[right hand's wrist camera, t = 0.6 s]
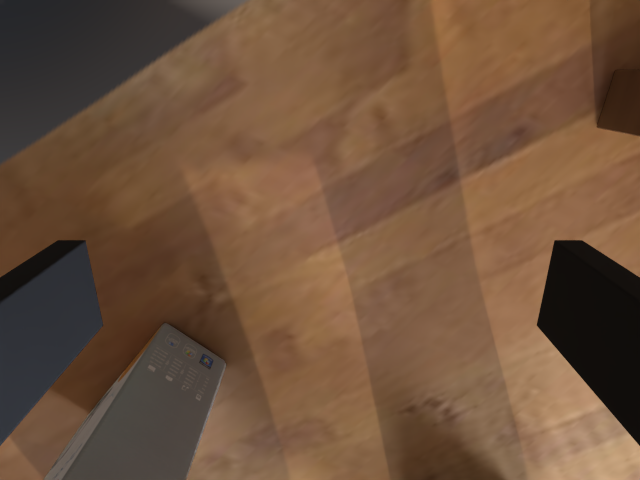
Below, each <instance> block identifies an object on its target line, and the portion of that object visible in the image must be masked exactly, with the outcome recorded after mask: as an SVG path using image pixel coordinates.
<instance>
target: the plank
mask: <svg viewBox="0 0 640 480" xmlns="http://www.w3.org/2000/svg"><path fill="white" fill-rule="evenodd" d="M597 128H600V129H605V130H610V131H615V132H620V133H625V134H630V135H635V136H640V70H615V73H614V76H613V79H612V82H611V85H610V88H609V91H608V94H607V97H606V100H605V103H604V106H603V109H602V112H601V115H600V119H599V122H598V125H597Z"/></svg>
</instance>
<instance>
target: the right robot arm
mask: <svg viewBox="0 0 640 480" xmlns="http://www.w3.org/2000/svg"><path fill="white" fill-rule="evenodd" d="M102 326H103V322H102V317H101V313H100V308H99V303H98V298H97V294H96V289H95V284H94V279H93V274H92V270H91V265H90V260H89V255H88V251H87V246H86V241H85V240H58V241H56V242H55V243H53V244H52V245H50V246H49V247H47V248H45V249H44V250H42V251H41V252H39V253H38V254H36V255H35V256H33V257H31V258H30V259H28V260H27V261H25V262H24V263H22V264H21V265H19V266H17V267H16V268H14V269H13V270H11V271H10V272H8V273H7V274H5V275H4V276H2V277H0V445H1V444H2V443H3V442H4V441H5V440H6V438H7V437H8V436H9V435H10V434H11V433H12V431H13V430H14V429H15V428H16V427H17V426H18V424H19V423H20V422H21V421H22V420H23V419H24V417H25V416H26V415H27V414H28V413H29V411H30V410H31V409H32V408H33V407H34V406H35V404H36V403H37V402H38V401H39V400H40V399H41V397H42V396H43V395H44V394H45V393H46V392H47V390H48V389H49V388H50V387H51V386H52V385H53V383H54V382H55V381H56V380H57V379H58V378H59V376H60V375H61V374H62V373H63V372H64V371H65V369H66V368H67V367H68V366H69V365H70V364H71V362H72V361H73V360H74V359H75V358H76V357H77V355H78V354H79V353H80V352H81V351H82V349H83V348H84V347H85V346H86V345H87V344H88V342H89V341H90V340H91V339H92V338H93V337H94V335H95V334H96V333H97V332H98V331H99V330H100V328H101V327H102ZM537 326H538V327H539V328H540V330H541V331H542V332H543V333H544V334H545V335H546V337H547V338H548V339H549V340H550V341H551V342H552V344H553V345H554V346H555V347H556V348H557V349H558V351H559V352H560V353H561V354H562V355H563V357H564V358H565V359H566V360H567V361H568V362H569V364H570V365H571V366H572V367H573V368H574V369H575V371H576V372H577V373H578V374H579V375H580V376H581V378H582V379H583V380H584V381H585V382H586V383H587V385H588V386H589V387H590V388H591V389H592V390H593V392H594V393H595V394H596V395H597V396H598V397H599V399H600V400H601V401H602V402H603V403H604V404H605V406H606V407H607V408H608V409H609V410H610V411H611V413H612V414H613V415H614V416H615V417H616V419H617V420H618V421H619V422H620V423H621V424H622V426H623V427H624V428H625V429H626V430H627V431H628V433H629V434H630V435H631V436H632V437H633V438H634V440H635V441H636V442H637V443H638V444H639V445H640V277H638V276H636V275H635V274H633V273H632V272H630V271H629V270H627V269H626V268H624V267H623V266H621V265H619V264H618V263H616V262H615V261H613V260H612V259H610V258H609V257H607V256H605V255H604V254H602V253H601V252H599V251H598V250H596V249H595V248H593V247H591V246H590V245H588V244H587V243H585V242H584V241H582V240H555V241H554V246H553V251H552V255H551V260H550V265H549V270H548V274H547V279H546V284H545V289H544V294H543V298H542V303H541V308H540V313H539V317H538V322H537Z"/></svg>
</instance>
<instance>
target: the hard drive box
mask: <svg viewBox="0 0 640 480" xmlns="http://www.w3.org/2000/svg"><path fill="white" fill-rule="evenodd" d="M225 368H226V363H225V361H224V360H223V359H221V358H220V357H218V356H217V355H215V354H214V353H212V352H210V351H209V350H207V349H206V348H204V347H203V346H201V345H200V344H198V343H197V342H195V341H194V340H192V339H190V338H189V337H187V336H186V335H184V334H183V333H181V332H180V331H178V330H177V329H175V328H174V327H172V326H170V325H169V324H167V323H164V324H162V326H161V327H160V328H159V329H158V330H157V331H156V333H155V334H154V335H153V336H152V338H151V339H150V340H149V341H148V343H147V344H146V345H145V346H144V347H143V349H142V350H141V351H140V352H139V353H138V355H137V356H136V357H135V358H134V360H133V361H132V362H131V363H130V364H129V366H128V367H127V368H126V369H125V370H124V372H123V373H122V374H121V375H120V377H119V378H118V379H117V380H116V381H115V383H114V384H113V385H112V386H111V388H110V389H109V390H108V391H107V392H106V394H105V395H104V396H103V397H102V399H101V400H100V401H99V402H98V403H97V405H96V406H95V407H94V409H93V410H92V411H91V412H90V413H89V415H88V416H87V417H86V419H85V420H84V422H83V423H82V424H81V426H80V427H79V429H78V430H77V432H76V433H75V434H74V436H73V437H72V439H71V440H70V442H69V443H68V445H67V446H66V447H65V449H64V450H63V452H62V453H61V455H60V456H59V458H58V459H57V461H56V462H55V464H54V465H53V466H52V468H51V469H50V471H49V472H48V474H47V475H46V477H45V478H44V480H186V479H187V476H188V473H189V470H190V467H191V465H192V462H193V459H194V456H195V453H196V450H197V448H198V445H199V442H200V439H201V436H202V433H203V431H204V428H205V425H206V422H207V419H208V417H209V414H210V411H211V408H212V405H213V402H214V399H215V397H216V394H217V391H218V388H219V386H220V383H221V380H222V377H223V374H224V371H225Z"/></svg>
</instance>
